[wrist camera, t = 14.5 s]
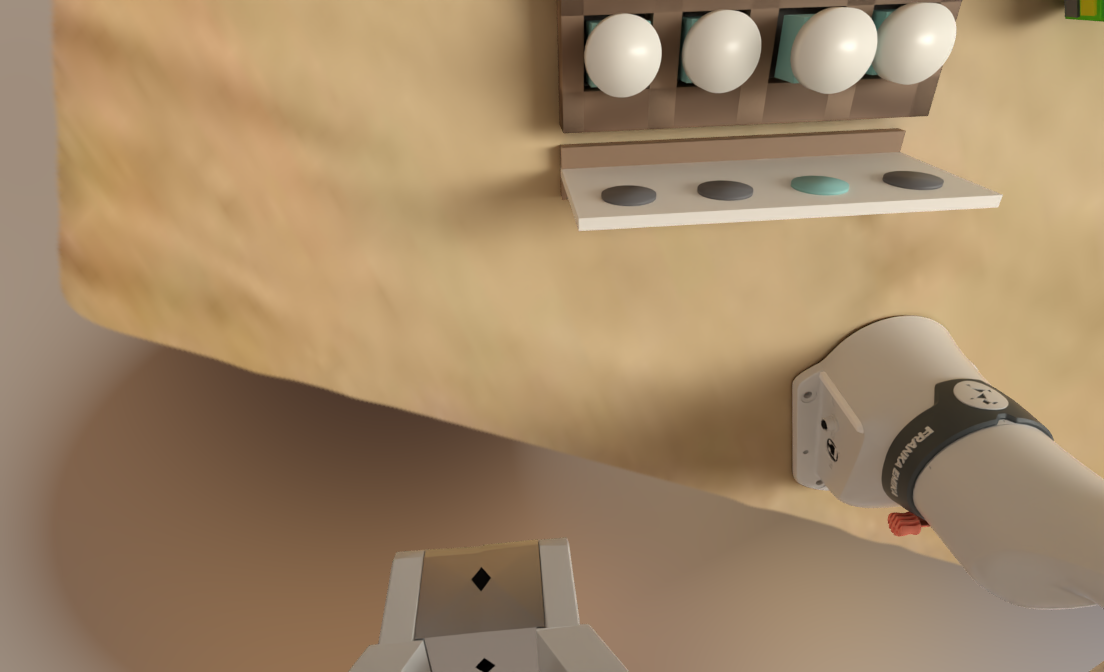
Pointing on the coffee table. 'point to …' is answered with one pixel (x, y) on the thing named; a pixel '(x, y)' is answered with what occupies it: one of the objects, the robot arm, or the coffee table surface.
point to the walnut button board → (747, 104)
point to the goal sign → (755, 180)
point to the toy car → (1084, 10)
